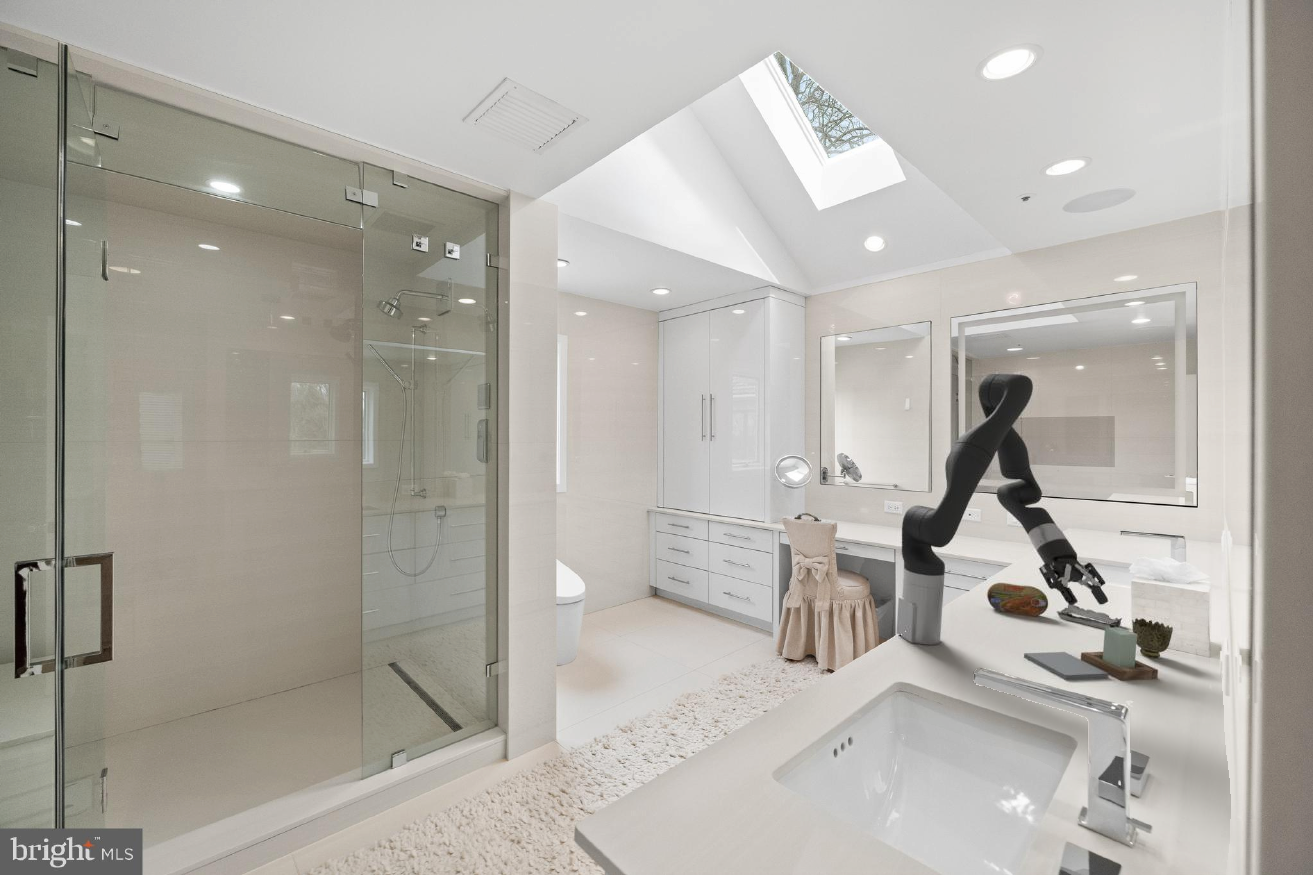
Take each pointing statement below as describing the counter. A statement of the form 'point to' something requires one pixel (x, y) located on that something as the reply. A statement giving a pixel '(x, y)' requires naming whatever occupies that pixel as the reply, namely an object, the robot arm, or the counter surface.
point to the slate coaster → (1065, 665)
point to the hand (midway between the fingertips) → (1089, 603)
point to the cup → (1152, 637)
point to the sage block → (1119, 647)
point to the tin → (1017, 599)
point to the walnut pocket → (1120, 673)
